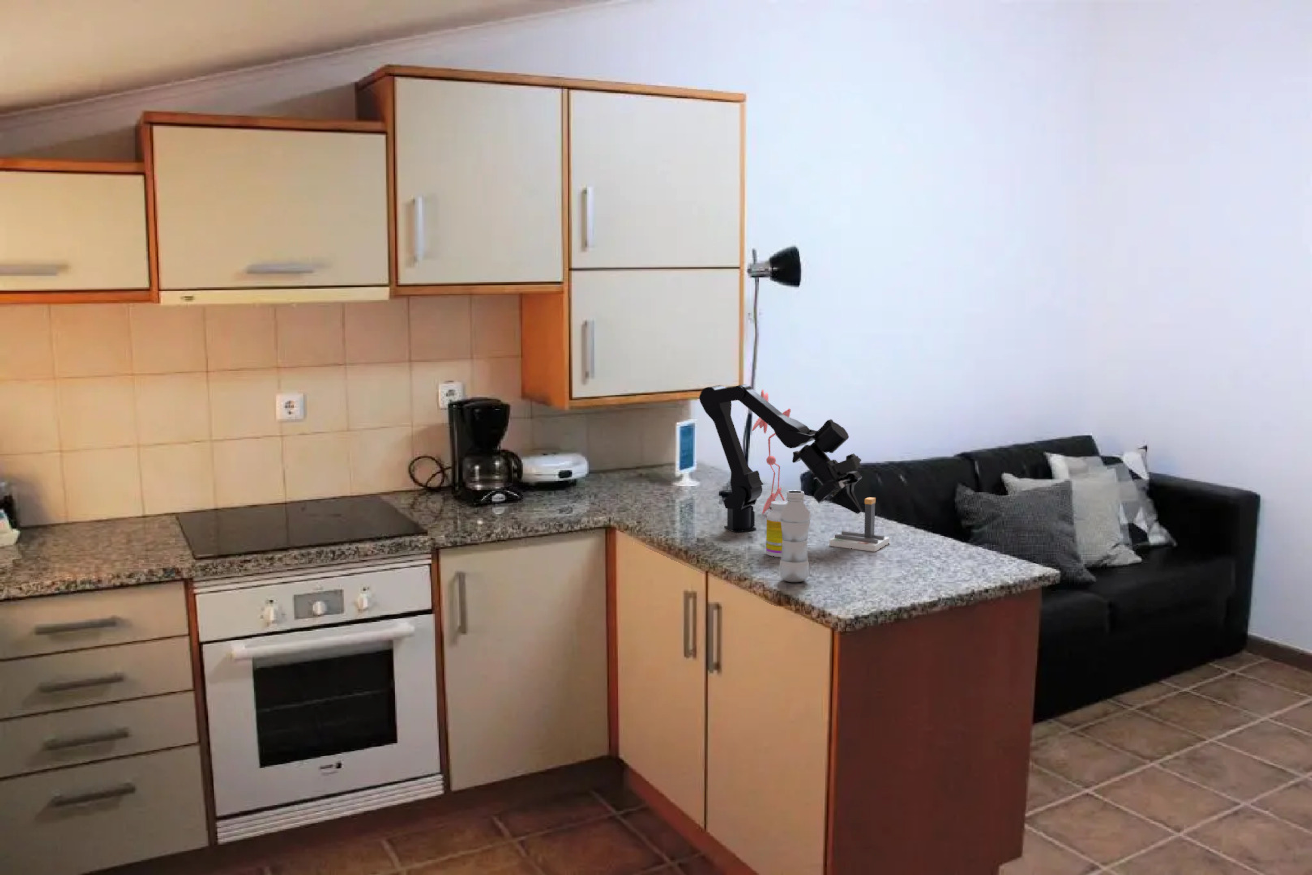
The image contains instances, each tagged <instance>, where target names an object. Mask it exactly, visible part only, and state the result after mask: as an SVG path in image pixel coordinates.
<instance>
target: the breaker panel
mask: <svg viewBox="0 0 1312 875" xmlns="http://www.w3.org/2000/svg"><path fill="white" fill-rule="evenodd" d="M828 541H829V544H828V546H830V547H837V548H844V549H846V548H847V549H851V548H852V549H851V550H858V551H860V550H861V551H867V552H877V551H878V550H880V548H881V549H883V548H884V547H886V546H887V545H889V544H890V537H888V536H885V535H881V534H875V533H874V538H865V537H864V532H857V531H848V530H842V531H841V533H840V534H839V533H836V534H834V536H833V537H832V538H829V540H828ZM888 543H889V544H888ZM885 545H886V546H885Z"/></svg>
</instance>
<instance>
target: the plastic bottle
mask: <svg viewBox="0 0 1312 875" xmlns="http://www.w3.org/2000/svg"><path fill="white" fill-rule="evenodd" d="M805 499H806V498H805V491H803V490H787V491H786V500H785V501H788V503H787V504H786V506H785V507H784V508H783V510H782V512H781V515H780V519H781V527H782V539H783V541H782V554H781V557H780V560H779V566H778V572H779V573H778V574H779V577H780V579H781V580H782V581H784V582H785V581H786V582H790V583H799V582H804V581H806V580H807V579H808V578H809V576H810V563H809V556H808V538H809V531H810V524H811V516H812V515H811V513H810V511H809V508H808V507H807V506H806V504H805V503H804V501H806V500H805Z"/></svg>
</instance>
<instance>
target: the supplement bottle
mask: <svg viewBox="0 0 1312 875" xmlns="http://www.w3.org/2000/svg"><path fill="white" fill-rule="evenodd" d="M787 503H788V501H787V500H785V501H783V500H775V501H772V502H771V505H770V508H771V511H769V512H768V513H767V514H766V531H765V532H766V533H765V534H766V536H765V537H766V538H765V539H766V540H765V547H766V548H765V552H766V554H767V555H768V556H770V557H773V556H774V558H775V557H776V558H781V554H782V541H783V539H782V527H781V519H780V515H781V512H782V510H783V508H784V507H785V506H786V504H787Z"/></svg>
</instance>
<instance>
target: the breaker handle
mask: <svg viewBox="0 0 1312 875" xmlns="http://www.w3.org/2000/svg"><path fill="white" fill-rule="evenodd" d="M876 499H877V498H876V497H870V496H869V497H866V498H864V530H863V531H864V532H863V533H864V537H865V538H874V534H875V523H876V522H875V520H876V518H875V517H876V516H875V515H876V514H875V512H876Z"/></svg>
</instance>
